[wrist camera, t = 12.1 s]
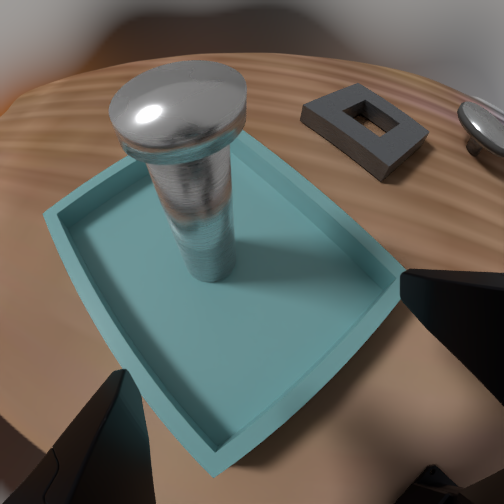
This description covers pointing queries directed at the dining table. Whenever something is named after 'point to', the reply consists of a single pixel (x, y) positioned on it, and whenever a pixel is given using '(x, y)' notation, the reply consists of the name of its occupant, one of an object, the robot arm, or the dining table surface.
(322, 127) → the pin collar
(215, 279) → the pin
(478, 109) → the silver round knob
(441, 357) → the dining table surface
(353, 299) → the tray
